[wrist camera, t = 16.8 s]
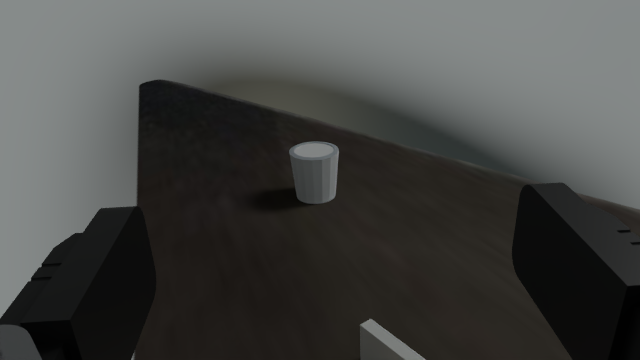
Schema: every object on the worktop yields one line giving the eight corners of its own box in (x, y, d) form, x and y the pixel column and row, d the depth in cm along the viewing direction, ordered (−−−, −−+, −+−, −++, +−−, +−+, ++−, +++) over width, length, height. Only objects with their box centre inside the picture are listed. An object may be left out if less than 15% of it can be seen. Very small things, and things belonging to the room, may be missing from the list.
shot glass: (283, 201, 73) (279, 155, 70) (305, 181, 79) (303, 138, 76) (327, 209, 70) (325, 162, 67) (347, 188, 76) (346, 144, 73)
